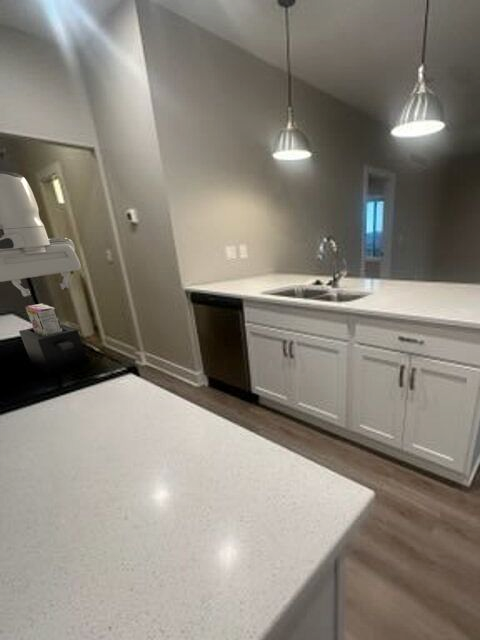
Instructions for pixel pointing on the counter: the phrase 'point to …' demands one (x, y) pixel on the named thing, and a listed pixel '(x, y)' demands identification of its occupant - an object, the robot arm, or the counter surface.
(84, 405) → the counter surface
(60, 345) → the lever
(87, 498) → the counter surface
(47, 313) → the candy bar box
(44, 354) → the dark grey storage bin
